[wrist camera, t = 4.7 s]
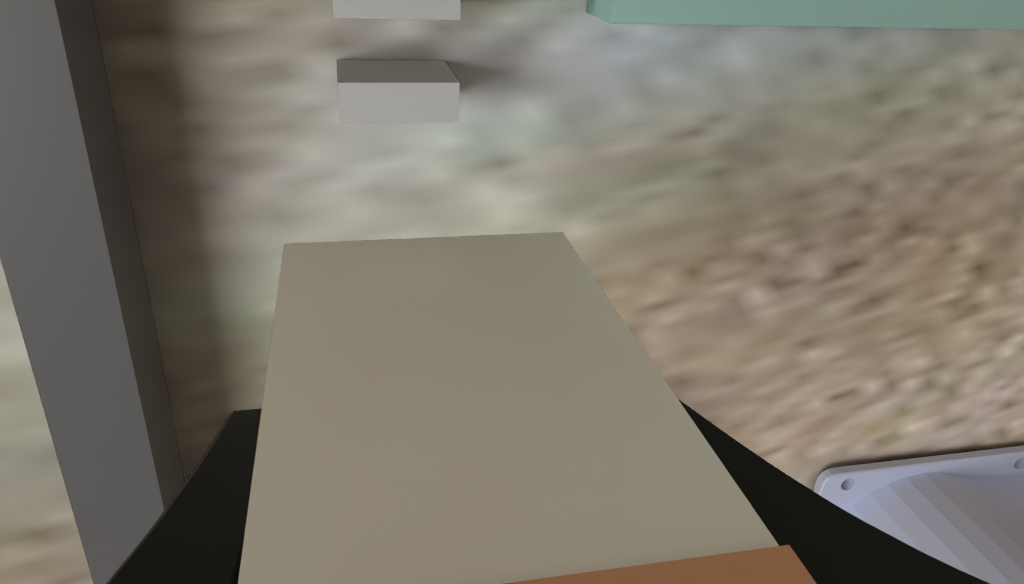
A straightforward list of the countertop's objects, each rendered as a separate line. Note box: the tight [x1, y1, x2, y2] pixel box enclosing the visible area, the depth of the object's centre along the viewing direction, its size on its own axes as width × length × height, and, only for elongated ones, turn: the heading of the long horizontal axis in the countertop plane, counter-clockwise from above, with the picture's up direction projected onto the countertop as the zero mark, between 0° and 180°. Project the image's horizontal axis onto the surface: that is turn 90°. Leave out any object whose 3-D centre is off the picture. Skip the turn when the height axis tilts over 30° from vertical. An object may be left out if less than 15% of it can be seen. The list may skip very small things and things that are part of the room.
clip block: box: [0, 0, 460, 584], centre depth 17 cm, size 9×25×2 cm, turn 177°
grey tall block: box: [238, 232, 817, 584], centre depth 9 cm, size 4×4×8 cm
